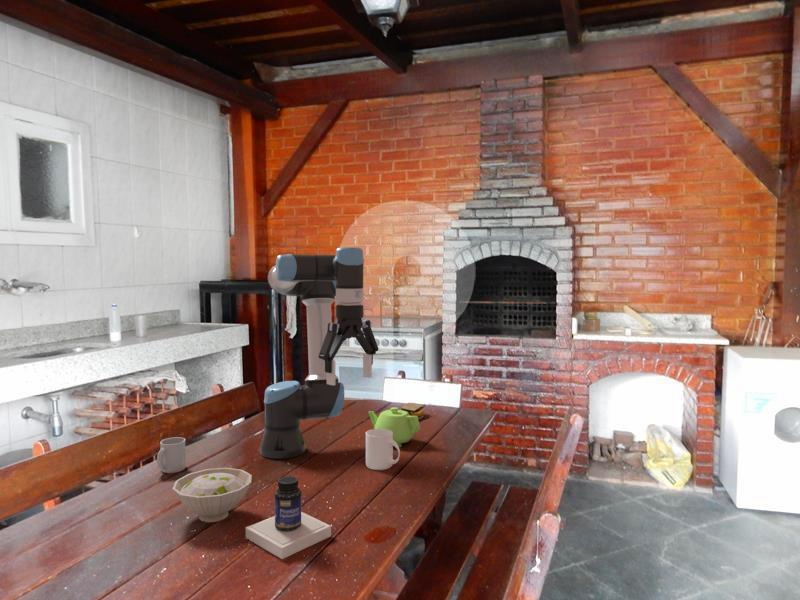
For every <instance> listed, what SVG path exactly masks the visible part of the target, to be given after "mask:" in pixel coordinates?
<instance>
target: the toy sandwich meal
mask: <svg viewBox="0 0 800 600" xmlns="http://www.w3.org/2000/svg"><path fill="white" fill-rule="evenodd" d="M400 410H402V411H406V412H408V413H409V415H410V416H418V421H419V419H420V420H422V419H423V418H424V416H425V415H424V411H425V408H423V405H422V404H420V403H416V402H408V403H406V404H405V405H403V406H401V408H400Z"/></svg>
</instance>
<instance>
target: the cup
mask: <svg viewBox="0 0 800 600" xmlns="http://www.w3.org/2000/svg"><path fill="white" fill-rule="evenodd" d="M159 443H160V450H159V451H158V453H157V456H156V465H157V467H158V469H159V470H160V471H162V473H164V474H165V473H166V474H175V473H180V472H182V471H184V470H185V469H186V466H187V462H186V461H187V458H186V457H187V456H186V452H187V451H186V448H187V447H186V438H184V437H179V436H178V437H177V436H176V437H175V436H174V437H169V438H165V439H164V438H163V439H162V440H161V441H160V442H159Z"/></svg>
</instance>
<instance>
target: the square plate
mask: <svg viewBox="0 0 800 600" xmlns="http://www.w3.org/2000/svg"><path fill="white" fill-rule="evenodd" d="M330 537H332V526H331V524H328V523H326V522H324V521H322V520H320V519H318V518H316V517H313V516H311V515H309V514H308V513H305V512H302V511H301V525H300V527H298V528H297V529H295V530H290V531H281V530H278V529H277V528H276V527H275V515H273V516H271V517H269V518H267V519H264V520H261V521H258V522H256V523H253V524H251V525H248V526H246V527H245V539H247V540H248V539H249V541H250V542H251V543H253V542H254V544H255V545H257V546H259V547H261V548H262V549H264V550H265V551H267V552H268V553H270V554H272V555H274V556H275V557H278V558H279V559H281V560H283V559H286V558H288V557H290V556H292V555H294V554H297V553H298V552H300V551H302V550H305V549H307V548H310V547H311V546H313V545H315V544H317V543H320V542H322V541H323V540H326V539H328V538H330Z"/></svg>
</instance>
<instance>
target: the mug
mask: <svg viewBox="0 0 800 600" xmlns="http://www.w3.org/2000/svg"><path fill="white" fill-rule="evenodd" d="M394 447H395V449H396V450H397V454H398V456H397V458H396V459H394V456H393V455H394V454H393V453H394ZM400 455H401V449H400V447H399V446H398V444H397V443H396V442H395V441H394V440H393V432H392V431H391V430H387V429H374V428H373V429H368V430H367V431H365V465H366V467H367V468H368V469H370V470H374V471H384V470H385V471H386V470H388V469H390V468H391V467H393V465H396V464H397V463H398V462H399V461H400V457H401V456H400Z"/></svg>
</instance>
